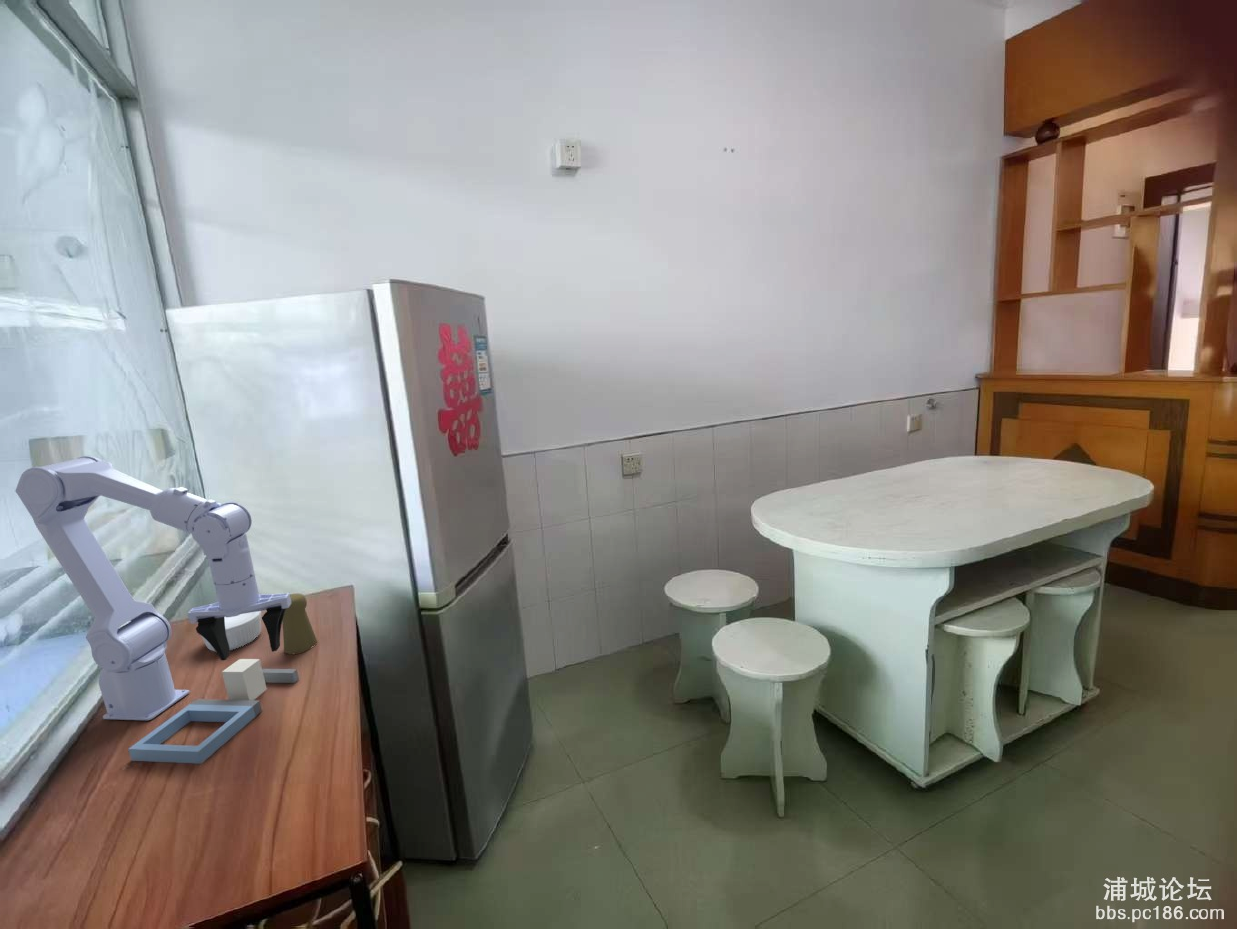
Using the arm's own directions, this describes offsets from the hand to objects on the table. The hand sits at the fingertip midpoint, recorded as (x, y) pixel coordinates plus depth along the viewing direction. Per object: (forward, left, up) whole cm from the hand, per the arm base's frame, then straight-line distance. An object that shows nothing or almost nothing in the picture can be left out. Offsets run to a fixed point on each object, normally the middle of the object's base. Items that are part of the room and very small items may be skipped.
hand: (251, 652), depth 99 cm
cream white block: (-4, +1, -9) cm, 10 cm away
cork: (-6, +18, -9) cm, 21 cm away
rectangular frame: (-4, -4, -9) cm, 11 cm away
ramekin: (-23, +20, -9) cm, 32 cm away
